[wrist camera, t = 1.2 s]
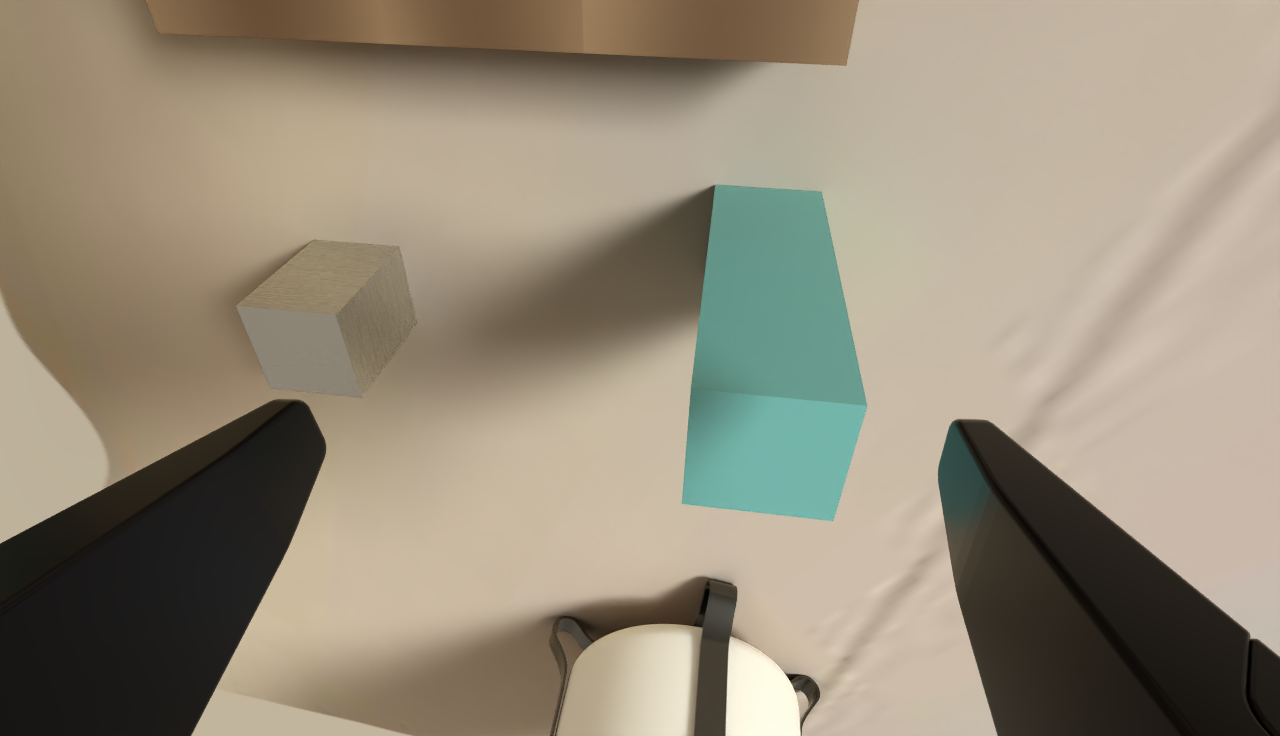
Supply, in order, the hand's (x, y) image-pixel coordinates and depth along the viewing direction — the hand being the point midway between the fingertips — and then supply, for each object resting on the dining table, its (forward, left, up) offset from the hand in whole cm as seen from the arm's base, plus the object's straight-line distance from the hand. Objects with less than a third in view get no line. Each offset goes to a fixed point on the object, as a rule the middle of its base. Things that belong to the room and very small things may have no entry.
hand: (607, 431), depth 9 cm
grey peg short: (+11, +6, -13) cm, 18 cm away
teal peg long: (-3, +3, -13) cm, 14 cm away
